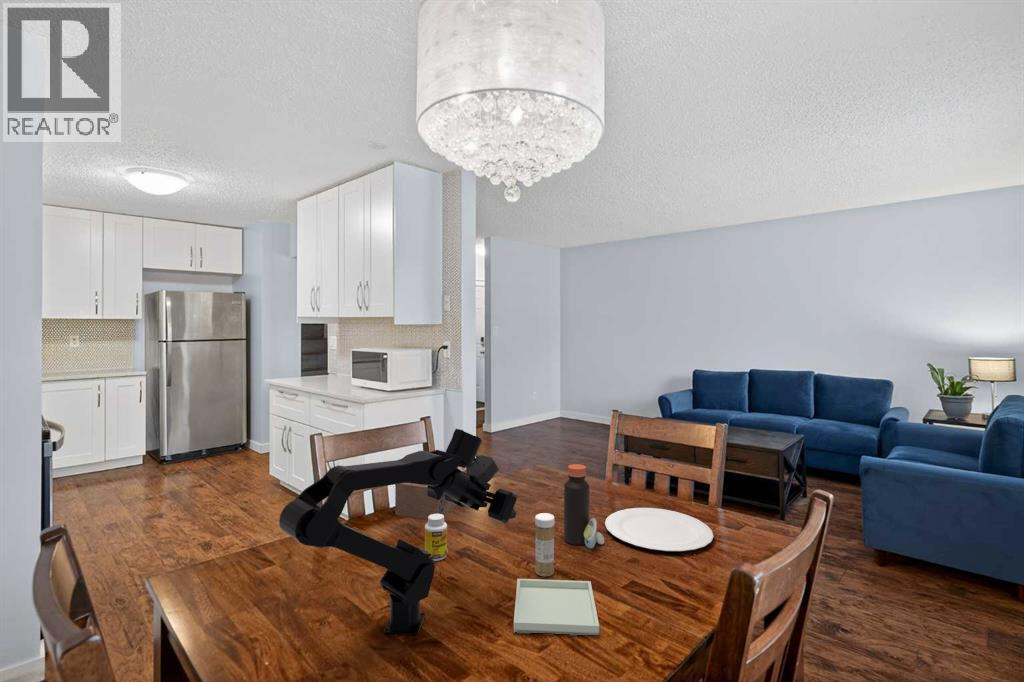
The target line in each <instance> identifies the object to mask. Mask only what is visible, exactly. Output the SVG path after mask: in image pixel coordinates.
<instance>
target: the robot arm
mask: <svg viewBox="0 0 1024 682" xmlns="http://www.w3.org/2000/svg"><path fill="white" fill-rule="evenodd" d="M482 443H483V439H482V438H480V436H477V435H473V434H471V433H469V432H467V431H464V430H463V429H460V428H455V429H454V431H453V434H452V437H451V440H450V441H449V444H448V445H447V448H446V450H445V451H443V450H440V449H435V450H431V451H425V450H418V451H414V452H412V453H408V454H406V455H405V456H404V457H402V458H399V459H397V460H387V461H379V462H370V463H362V464H361V463H360V464H354V465H353V464H352V465H351V464H350V465H345V466H344V465H335V466H333V467H331V468H330V469H329V470H328V471H326V473H324V475H323V476H322V477H321V478H319V479H318V480H317V481H315V482H313V483H312V484H311V485H309V486H308V487H306V488H305V489H303V490H302V492H300V494H299V495H298V496H297V497H296V498H295V499H294V500H292V501H290V502H288V504H286V505H285V506H284V508H283V509H282V510H281V512H280V515H279V521H278V523H279V528H280V529H281V530H282V531H283V532H284V533H285V534H287V535H289V536H290V537H291V538H292V539H295V540H296V541H297V542H299V543H300V544H302V545H303V546H309V547H313V548H322V549H327V548H335V549H337V550H339V551H342V552H345V553H348V554H350V555H352V556H355V557H357V558H360V559H362V560H364V561H367V562H370V563H373V564H375V565H378V566H380V567H382V568H384V569H386V571H385V573H384V574H383V576H382V577H381V579H380V581H379V583H380V585H381V588H382V590H383V591H385V592H387V593H388V594H389V620H388V622H387V623H386V625H385V628H384V629H383V633H384V635H402V636H403V635H404V636H405V635H406V636H417V635H418V634H420V630H421V627H422V625H423V622H424V621H425V620H424V619H425V617H426V612H421V600H424V599H426V598H428V597H429V593H430V590H431V586H432V582H433V580H434V575H435V568H436V567H435V564H436V561H434V560H433V559H431V558H430V556H431V554H430V553H428V552H426V551H425V549H422V548H420V547H418V546H416V545H414V544H412V543H408V542H407V541H405V540H403V539H401V538H398V540H397V543H396V545H390V544H387V543H385V542H383V541H381V540H379V539H376V538H373V537H372V536H369V535H367V534H365V533H363V532H361V531H358V530H356V529H354V528H351V527H349V526H347V525H345V524H343V523H342V522H341V521H340V520H339V517H340V516H341V515H342V513H343V510H344V509H345V507H346V504H347V501H348V500H349V497H350V496H351V495H352V493H354V492H355V491H361V490H367V489H374V488H379V487H386V486H388V487H389V486H392V485H393V486H395V484H401V483H414V484H421V485H428V486H427V488H428V491H427V495H428V497H431V498H433V499H436V500H440V499H441V497H442V495H443V493H444V497H445V500H446V501H448V502H450V503H453V504H455V505H457V506H458V507H460V508H469V509H471V510H475V511H477V512H479V509H480V508H487V506H488V505H489V506H488V509H487V514H488V515H487V517H489V518H491V519H492V520H495V521H497V522H499V523H501V524H502V523H503V524H507V523H508V522H509V520H511V519H515V518H516V516H517V511H516V510H515V508H514V507H515V505H516V502H517V501H518V500H517V499H518V497H517V494H515V493H513V492H512V491H509V490H506V489H502V488H498V489H497V490H496V491H495V492H494V493H493V492H492V491H491V492H490V491H489V490H490V488H491V485H492V484H490V483H489V482H490V481H491V480H492V479H493V478H494V476H495V475H496V474H497V473H498V472H499V470H500V469H499V467H498V465H497V462H496V461H495V459H494V458H493V457H491V456H486V455H477V454H478V452H479V449H480V447H481V445H482ZM458 466H459V467H462V468H465V467H466V469H467V473H464V472H463V471H461V470H459V469H458ZM326 498H327V499H326ZM325 499H326V500H325ZM324 500H325V502H324V503H323V504H322V505H321V506H319V505H318V504H319V503H321V502H322V501H324Z"/></svg>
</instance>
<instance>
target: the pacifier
mask: <svg viewBox="0 0 1024 682" xmlns="http://www.w3.org/2000/svg"><path fill="white" fill-rule="evenodd" d="M597 525H598V524H597V520H596V518H595V517H591V518H589V522H588V525H587V526H586V528H585V531H584V541H585V544H584V545H585V546H586V548H588V549H593V548H594V547H595V546H596V543H597V544H599V545H604V544H605V538H604V535H603V534H602V533H601V532H599V531H598V532H597V528H598V527H597ZM587 540H588V542H587Z"/></svg>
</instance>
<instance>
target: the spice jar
mask: <svg viewBox="0 0 1024 682" xmlns="http://www.w3.org/2000/svg"><path fill="white" fill-rule="evenodd" d="M555 521H556V520H555V516H554V514H552V513H547V512H543V513H542V512H541V513H538V514H535V517H534V524H535V548H534V549H535V555H534V558H535V568H534V571H535V574H536V575H537V576H539V577H544V578H545V577H546V578H547V576H548V577H550V576H553V574H554V573H555V568H554V567H555V566H554V565H555V564H554V559H555V530H554V529H555V528H554V527H555Z"/></svg>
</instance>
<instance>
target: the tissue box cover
mask: <svg viewBox="0 0 1024 682" xmlns="http://www.w3.org/2000/svg"><path fill="white" fill-rule="evenodd" d="M458 469H459V470H461V471H463V472H464V473H467V469H466V467H465V468H462V467H459V466H458ZM394 486H395V488H394V489H395V490H394V494H395V497H394V501H395V502H394V503H395V505H394V506H395V507H396V508H395V510H394V511H395V512H394V513H395V514H396V515H395V516H400V515H401V516H402V517H407V516H408V518H413V517H414V518H413V519H420V518H423V519H422V520H427V519H428V516H429V515H431V514H442V515H445V516H446V515H448V512H449V511H450V512H451V511H453V508H454V509H455V508H456V507H457V506H458V505H455V504H453V503H450V502H448V501H446V500H445V497H444V493H443V495H442V497H441V499H440V500H436V499H433V498H431V497H428V495H427V491H428V488H427V486H428V485H421V484H414V483H401V484H394ZM450 512H449V513H450Z"/></svg>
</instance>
